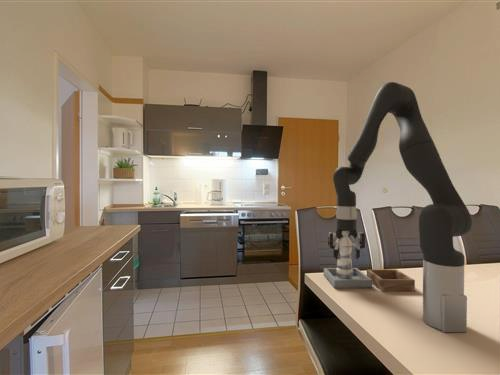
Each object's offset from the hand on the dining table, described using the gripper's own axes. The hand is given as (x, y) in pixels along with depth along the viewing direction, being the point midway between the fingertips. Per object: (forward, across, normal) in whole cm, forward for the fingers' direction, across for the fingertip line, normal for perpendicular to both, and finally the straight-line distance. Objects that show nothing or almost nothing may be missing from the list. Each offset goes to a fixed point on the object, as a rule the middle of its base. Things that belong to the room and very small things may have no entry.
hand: (346, 258), depth 106 cm
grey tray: (+9, 0, 0) cm, 9 cm away
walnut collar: (+9, +15, -4) cm, 18 cm away
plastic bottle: (+9, -1, 0) cm, 9 cm away
